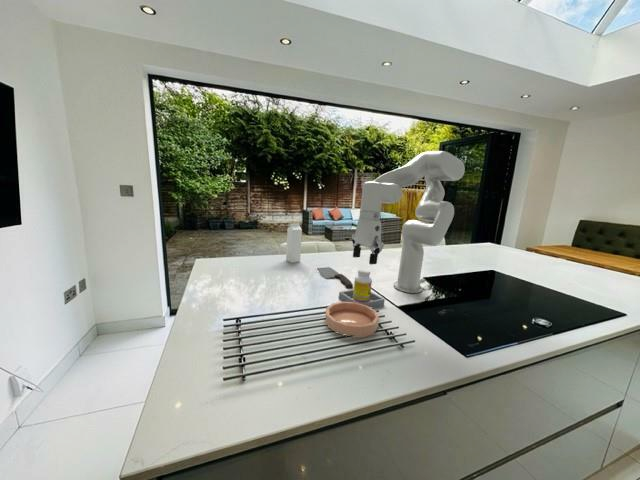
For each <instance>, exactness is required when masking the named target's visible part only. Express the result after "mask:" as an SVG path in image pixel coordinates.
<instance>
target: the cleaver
mask: <svg viewBox="0 0 640 480" xmlns="http://www.w3.org/2000/svg"><path fill="white" fill-rule="evenodd" d="M317 270H318V271H319V273H320V274H319V273H318V274H319V275H320V277H323V278H324V279H326V280H331V279H333V280H334V279H335V278H336V279H338V280H339V281H340V283H341V284H343V285H345V288H346V289H351V288H352V289H353V288H354V283H352V281H351V280H350V279H349V278H348V277H346V276H345V275H344V274H343V273H339V272H338V271H336V270H335V269H333V268H331V267H330V266H326V267H325V266H324V267H317Z"/></svg>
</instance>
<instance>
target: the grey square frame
mask: <svg viewBox="0 0 640 480" xmlns="http://www.w3.org/2000/svg"><path fill="white" fill-rule="evenodd" d="M353 291H354V288H352V289H348V290H347V289H346V290H343V291H342V290H341V291H339V293H338V299H340V300H342V302H356V301H355V300H353ZM356 303H358V302H356ZM359 304H363V305H366V306H369V307H374V308H378V307H381V306H385V298H383V297H381V296H379V294H378V295H377V294H376V293H374V292H373V291H371V293H370V301H369V302H364V303H359Z"/></svg>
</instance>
